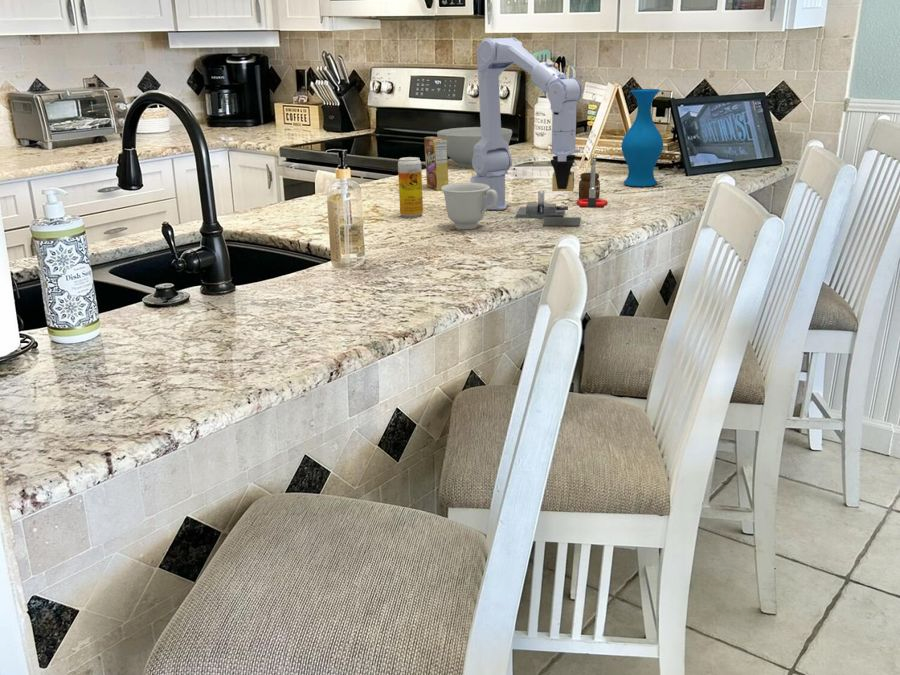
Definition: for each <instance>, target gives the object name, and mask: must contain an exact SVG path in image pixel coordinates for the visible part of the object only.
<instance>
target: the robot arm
mask: <svg viewBox="0 0 900 675" xmlns="http://www.w3.org/2000/svg"><path fill="white" fill-rule="evenodd" d="M476 56H477V57H476V59H477V82H478V98H479V100H478V101H479V119H480V120H479V121H480V122H479V123H480V127H481V140H480V141H479V142H478V143H477V144H476V145H475V146H474V147H473V148H474V154H473V158H472V166H473V168H472V169H473V171H474V172H475V174H472V175H470V176H471V177H470V183H482V184H486V185H489V186H490V188H489V189H488V190H490V189H492V190H495V191H496V192H497V195H498V201H497V204H496V205H495V206H494V207H493V208H490V209H487V210H490V211H491V210H496V211H497V210H498V211H499V210H500V211H501V210H502V211H504V210H506V208H507V207H508V205H509V202H506V174H508V171H509V170H510V168H511V166H512V163H513V162H512V161H513V160H512V159H513V158H512V156H511V153H510V148H509V146H510V145H509V144H510V143H509V144H508V143H507V142H506V141H505V140H504V139H502V137H501V128H502V120H501V118H502V117H501V101H500V100H501V98H500V95H501V94H500V78H499V77H500V75H501V74H502V73H503V72H504V71H505V70H507V69H508V68H510V67H511V66H512V65H514V64H515V65H516V66H518V67H519V68H521V69H522V70H524V71H525V72H527V73H528V74H529V75H531V76H530V79H531V81H532V83H533V84H535V85H536V86H537V87H538V88H540V89H541V90H542V91H543V92H544V93H546V95H547V99H548V101H549V104H550V110H551V112H552V113H551V114H552V119H551V120H552V122H551V124H552V125H551V148H550V153H551V154H553V156H552V159H550V164H551V166H552V168H553V172H554V171H555V176H556V182H557V187H558V189H567V185H568V180H569V174H570V171H571V170H572V167H573V165H574V163H575V159H576V156H577V155H575V154H576V153H581V148H576V144H577V143H576V140H577V134H576V133H577V102H579V100H580V99H581V97H582V94H583V87H582V84H581V82H580V81H579V79H578V78H577V77H567V76H566V74H565V73H564V72H560V71H559V70H558V68H556V67H555V66H554V63H553V62H551V61H543V62H540V61H539V60H538V59H537V58H536V57H535V56H533V55H532V54H531V53H530V52H529V51H528V50H527V49H526V48H524V47H523V42H522V41H520V40H518V39H517V38H516V37H513V36H512V37H511V36H510V37H501V38H488V37H487V38H486V37H485V38H483V39H482V40H481V42H480V43H479V44H478V45H477V47H476ZM489 149H495V150H489ZM493 200H494V197H493V195H492V194H489V197H488V198H487V199H486V205H485V207H486V206H488V205H490V204H492V202H493ZM487 210H486V211H487Z"/></svg>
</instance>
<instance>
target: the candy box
mask: <svg viewBox="0 0 900 675" xmlns="http://www.w3.org/2000/svg"><path fill="white" fill-rule="evenodd" d="M423 142H424V156H425V174H426V176H425V177H426V187H429V188H430V189H433V190H435V191H436V192H437V191H442V189H441V187H442V186H444V185H448V184H449V166H448V165H449V164H448V162H449V161H448V160H449V159H448V155H447V140H445V139H441V138H438V136H426V137H424V141H423Z"/></svg>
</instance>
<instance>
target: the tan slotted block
mask: <svg viewBox="0 0 900 675" xmlns="http://www.w3.org/2000/svg"><path fill="white" fill-rule="evenodd" d="M551 182H552V184H551V185H552V186H551V187H552V192H573V191H574V188H575V171H570V174H569V180H568V185H567V189H558V187H557V182H556V176H555V171H554V170H553V173H552V178H551Z"/></svg>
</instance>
